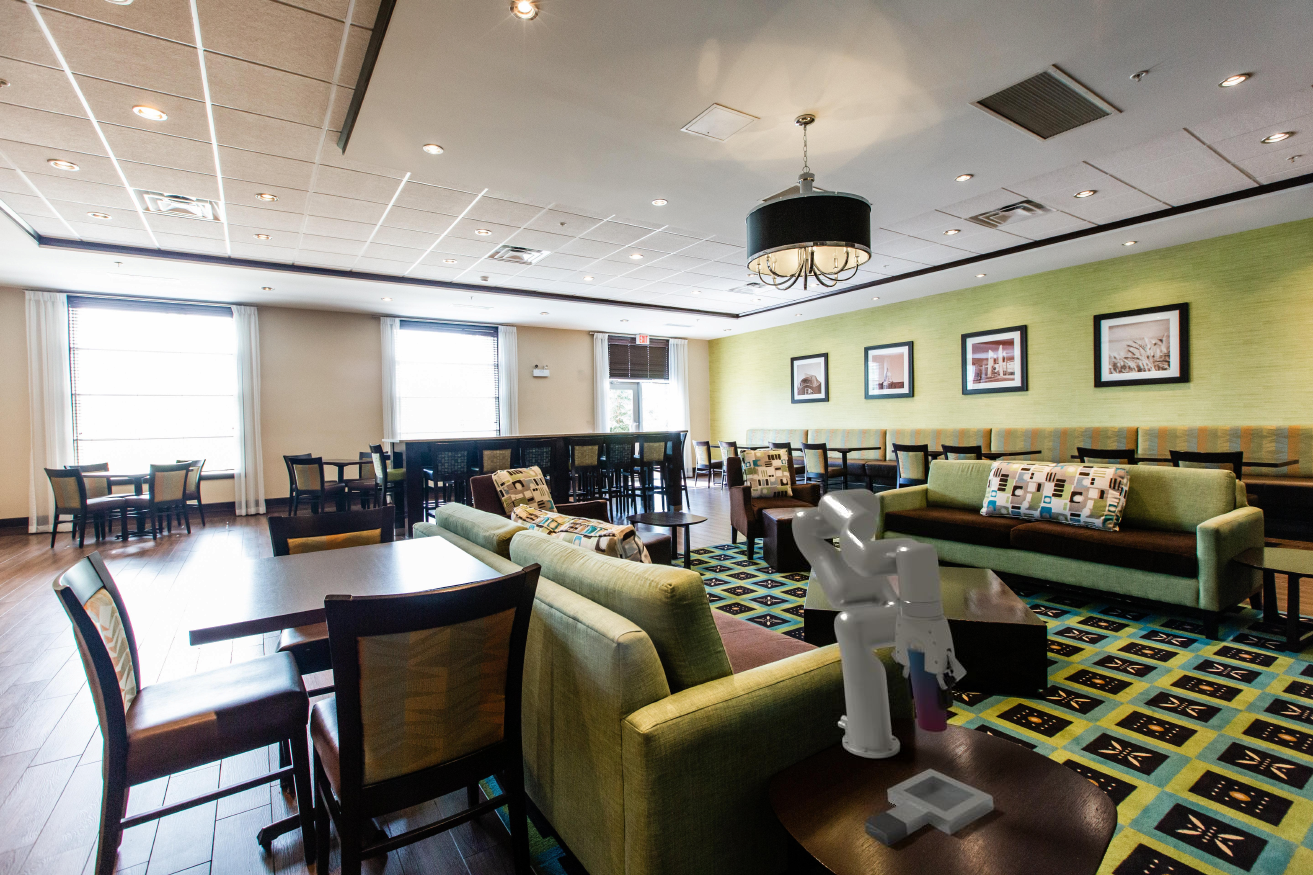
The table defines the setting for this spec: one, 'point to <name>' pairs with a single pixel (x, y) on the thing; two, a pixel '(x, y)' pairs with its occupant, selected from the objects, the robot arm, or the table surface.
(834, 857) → the table surface
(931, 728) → the cup
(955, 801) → the holder
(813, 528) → the robot arm
